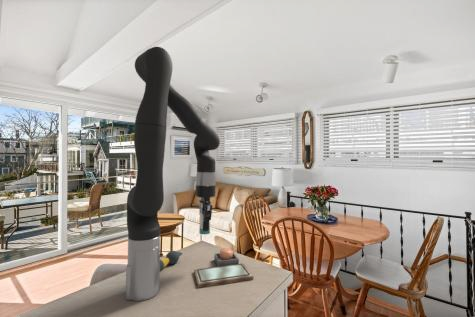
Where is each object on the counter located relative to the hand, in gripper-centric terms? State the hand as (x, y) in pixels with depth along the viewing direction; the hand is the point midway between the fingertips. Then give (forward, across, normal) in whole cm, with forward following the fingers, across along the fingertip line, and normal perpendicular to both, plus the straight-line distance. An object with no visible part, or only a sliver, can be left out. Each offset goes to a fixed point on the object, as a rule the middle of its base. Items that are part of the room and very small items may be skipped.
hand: (204, 228), depth 89 cm
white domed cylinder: (+1, 0, 0) cm, 1 cm away
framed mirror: (+15, +8, +5) cm, 18 cm away
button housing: (+15, -3, +10) cm, 18 cm away
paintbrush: (+16, -5, -14) cm, 22 cm away
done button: (+13, -3, +10) cm, 16 cm away
